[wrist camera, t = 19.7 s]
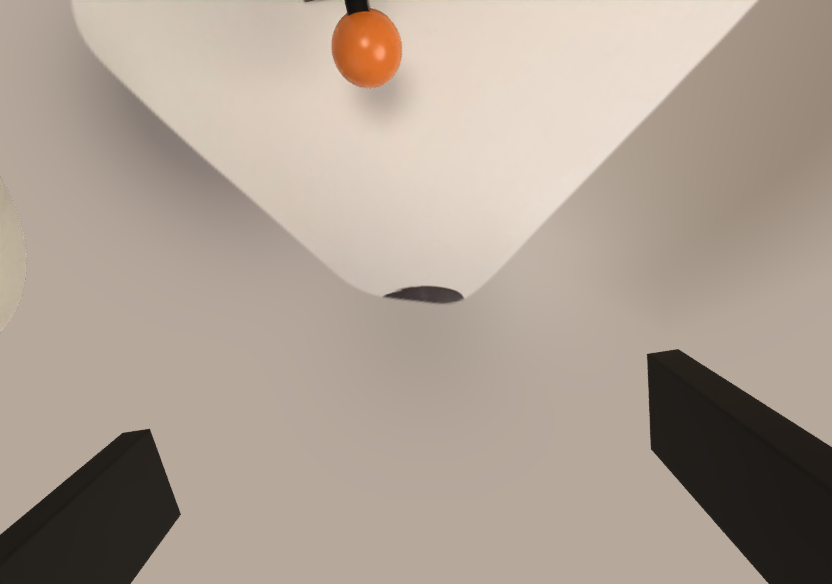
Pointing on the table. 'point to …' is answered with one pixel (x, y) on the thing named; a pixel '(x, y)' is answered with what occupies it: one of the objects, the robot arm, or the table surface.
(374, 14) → the switch
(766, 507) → the robot arm
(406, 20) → the table surface
